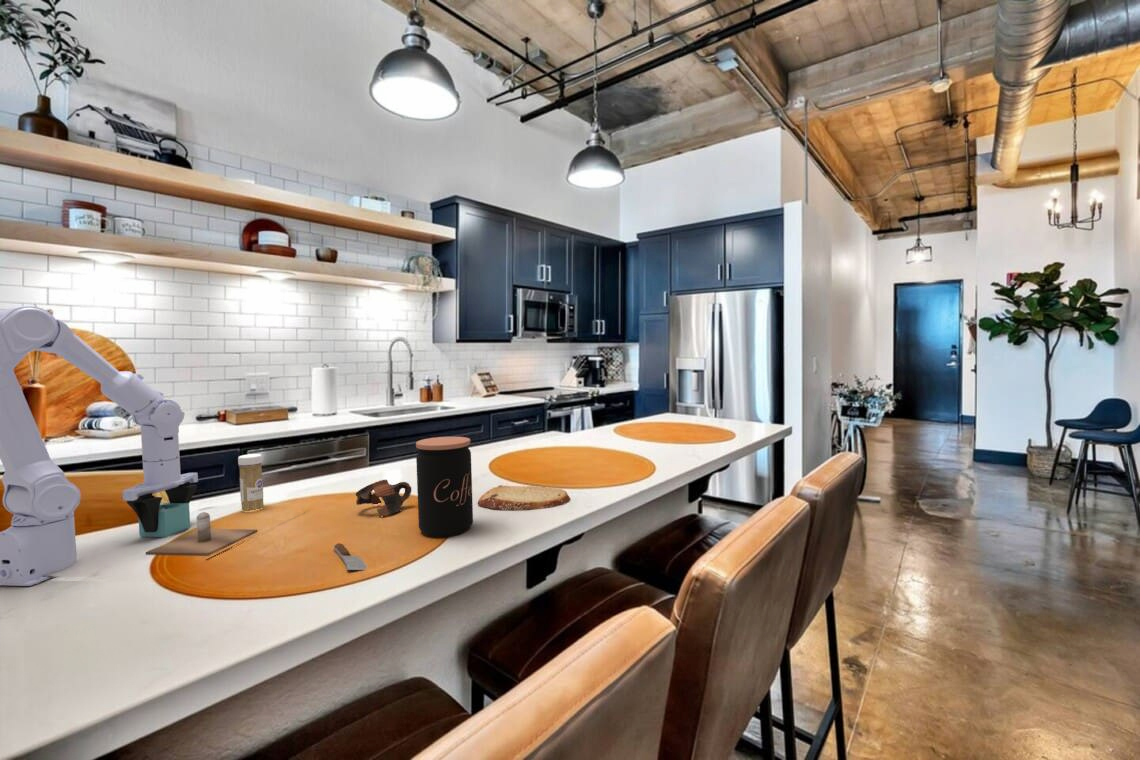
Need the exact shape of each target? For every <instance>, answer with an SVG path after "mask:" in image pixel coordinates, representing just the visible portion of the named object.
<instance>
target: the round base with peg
mask: <svg viewBox="0 0 1140 760" xmlns="http://www.w3.org/2000/svg"><path fill="white" fill-rule="evenodd" d="M165 509H168V508H162V509H159V510H165ZM189 530H190V528H187V529H185V530H182V531H180V532H177V533H175V534H172V535H170V536H167V537H140V538H141V539H143V540H156V539H164V538H170V537H174V536H177V535H181V534H183V533H185V532H187V531H189Z"/></svg>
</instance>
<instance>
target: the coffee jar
mask: <svg viewBox="0 0 1140 760" xmlns="http://www.w3.org/2000/svg"><path fill="white" fill-rule="evenodd" d="M470 445H471V439H470V438H469V437H464V436H438V437H430V438H424V439H420V440H418V441H416V443H415V447H416V449H417V450H418V452H417V453H416V456H415V458H416V459H415V460H416V487H417V490H416V491H417V514H418V529H419V531H421V533H422V534H423V535H424V536H427V537H428V538H429V537H430V538H450V537H455V536H459V535H462V534H464V533H466V532H468V531H469V530H470V529H471V526H472V525H473V522H474V515H473V514H474V513H473V511H474V509H473V507H474V506H473V481H472V480H473V479H472V478H473V476H472V452H471V449H470V448H469V446H470Z"/></svg>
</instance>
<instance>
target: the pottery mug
mask: <svg viewBox="0 0 1140 760" xmlns="http://www.w3.org/2000/svg"><path fill="white" fill-rule="evenodd" d="M402 489H404V492H403V495H400V491H401V490H402ZM373 491H374V493H373V494H372V492H373ZM411 493H412V486H411V485H410V483H408V482H406V481H401V482H397V483H395V484H390V483H389V482H388V479H381V480H378V481H375V482H373V483H370V484H368V485H365V487H363V488H361V489H359V490H357V492H355V496H356V500H355V501H356V502H355V503H356V506H359V505H364V504H365V505H367V504H372V505H373V504H378V503H381V504H382V501H383V502H384V504H383V505H382V506H379V507H377V509H376V512H377V513H378V516H379V517H380V516H385V517H388V516H389V514H390V515H391V514H396V512H397V513H400V512H401V511H402V506H403V504H404V503H405V501H406V500H407V499H409V497H410V496H411ZM380 498H381V499H382V500H381V499H380ZM400 510H401V511H400ZM399 511H400V512H399Z"/></svg>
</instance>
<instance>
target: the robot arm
mask: <svg viewBox="0 0 1140 760" xmlns="http://www.w3.org/2000/svg"><path fill="white" fill-rule="evenodd" d="M33 351H37V352H42V353H43V352H44V353H49V354H54V355H57V356H59V357H60V358H62V359H63V360H64V361H66V362H68V363H69V364H71V365H73V366H74V367H75V368H77V369H78V370H80V371H82V372H83V373H84V374H86V375H87V376H89V377H90V378H92V379H94V380H95V381H96V382H98V383H99V384H100V392H101V394H102V395H103V396H105V397H106V398H107V399H109V400H111V401H112V402H113V403H115V404H116V405H118V406H119V407H120V408H121V409H123V410H124V411H126V412H127V413H128V414H130V415H131V418H132V421H133V422H134V424H135V425H139V426H140V437H141V438H140V439H141V457H142V471H143V472H142V473H143V474H142V475H143V482H142V483H140V484H138V485H135V486H133V487H129V488H126V489H124V490H122V500H123V501H124V502H125V501H126V503H127V505H128V506H130V508H131V509H132V511H134V512H135V514H136V517H138V520H139V519H140V521H141V524H142V526H143V529H144V531H145V532H156V531H157V529H158V512H159V507H160V504H162V500H163V497H161V496H155V495H153V494H157V493H160V492H165V494H166V496H167V499H168V503H189V504H190V502H191V500H192V498H193V496H194V494H195V492H196V491H197V484H192V483H198V482H199V479H198V478H199V475H198V472H187V473H182V474H181V461H180V460H181V458H180V442H179V441H180V440H179V432H180V430H179V429H180V425H181V423H183V420H184V418H185V415H186V414H185V412H184V411H183V410H182V409H181V406H180V404H179V403H178V402H176V401H175V400H171V399H164V395H165V394H164V393H163V392H161V391H157V390H155V389H154V388H153V387H152V386H150V385H149V384H148V383H146V382H145V381H144V380H143V379H144V378H145V377H144V376H143V375H142V374H140V373H133V372H132V371H129V370H125V371H119V370H118V369H117V368H116V367H115V366H113V365H112V364H111V363H110V362H109V361H107V360H106V358H104V357H103V356H102V355H101V354H100V353H98V352H97V351H96V350H94V349H93V348H92V347H91V346H90V345H89V344H88V343H87V342H85V341H84V340H83V339H81V338H80V337H79V335H77V334H76V333H75V332H73V330H72V329H71V328H70V327H69V325H67V323H66V322H63V321H62V320H60V319H56V318H55V316H54V315H53V314H52V313H51V312H49V311H48V310H47V309H44V308H42V307H40V306H39V307H38V306H35V305H34V306H33V305H21V306H17V307H13V308H12V307H11V308H0V461H1V464H2V467H3V468H4V470H5V471H4V473H3V475H2V477H1V482H2V484H3V487H4V493H3V496H2V505H3V507H4V509H6V511H8V512H9V513H10V514H13V516H12V518H11V521H10V526H9V527H8V528H7V529H5V530H2V531H0V586H10V587H11V586H13V587H14V586H18V587H19V586H21V587H29V586H33V585H36V584H39V583H42V582H44V581H46V580H49V579H52V578H54V577H55V575H48V574H51V573H55V572H58V571H61V570H64V569H67V568H70V567H71V566H74V565H75V564H77V562H78V557H77V555H78V554H77V544H76V540H77V539H76V527H75V526H76V525H75V515H74V514H75V510H76V509H77V508H78V506H79V504H80V503H81V499H82V498H81V497H82V494H81V491H80V489H79V488H78V486H76V484H74V483H72V482H70V480H69V479H68V478H67V476H66V475H65V472H64V470H63V469H61V468H60V467H59V466H58V464H56V463H55V462H53V461H52V459H51V457H50V455H49V452H48V449H47V447H46V445H45V442H44V440H43V437H42V435H41V433H40V431H39V427H38V426H37V423H36V421H35V419H34V416H33V413H32V411H31V409H30V407H29V403H28V401H27V399H26V397H25V395H24V391H23V390H22V387H21V385H20V382H19V380H18V378H17V375H16V374H15V371H14V370H15V368H16V367H17V366H18V365H19V364H20V363H21V362H22V361H23V359H24V358H25V357H27V356H28V354H29V353H31V352H33Z"/></svg>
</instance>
